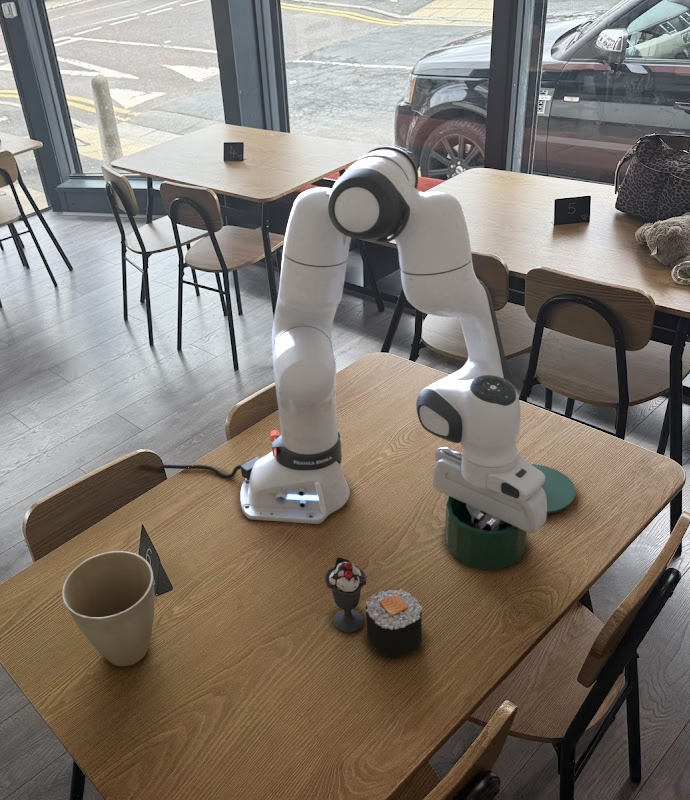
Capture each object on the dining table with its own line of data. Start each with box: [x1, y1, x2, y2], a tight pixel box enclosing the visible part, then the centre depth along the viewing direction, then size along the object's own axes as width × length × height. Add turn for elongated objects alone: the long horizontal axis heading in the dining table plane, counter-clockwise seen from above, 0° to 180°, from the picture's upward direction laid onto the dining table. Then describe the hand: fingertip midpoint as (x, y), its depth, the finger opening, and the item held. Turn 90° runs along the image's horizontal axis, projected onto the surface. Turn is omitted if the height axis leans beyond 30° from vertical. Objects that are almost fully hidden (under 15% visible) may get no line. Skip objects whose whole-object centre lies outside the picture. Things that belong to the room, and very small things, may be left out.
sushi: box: [365, 588, 423, 660], centre depth 126 cm, size 8×8×8 cm
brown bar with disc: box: [472, 514, 506, 531], centre depth 141 cm, size 9×3×3 cm, turn 131°
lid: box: [530, 463, 577, 515], centre depth 151 cm, size 15×15×5 cm
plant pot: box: [61, 550, 155, 667], centre depth 131 cm, size 15×15×16 cm
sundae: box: [324, 556, 367, 633], centre depth 129 cm, size 7×7×15 cm
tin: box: [444, 496, 528, 570], centre depth 141 cm, size 14×14×8 cm
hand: (485, 526), depth 141 cm, fingers closed on brown bar with disc
